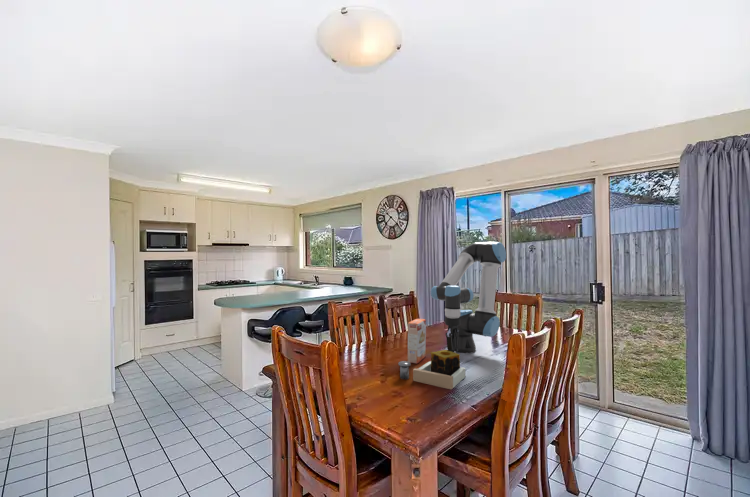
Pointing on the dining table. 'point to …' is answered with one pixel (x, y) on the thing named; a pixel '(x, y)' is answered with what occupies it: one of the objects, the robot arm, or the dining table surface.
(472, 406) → the dining table surface
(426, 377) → the bay
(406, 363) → the mushroom drawer knob
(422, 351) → the cracker box
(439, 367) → the candle
